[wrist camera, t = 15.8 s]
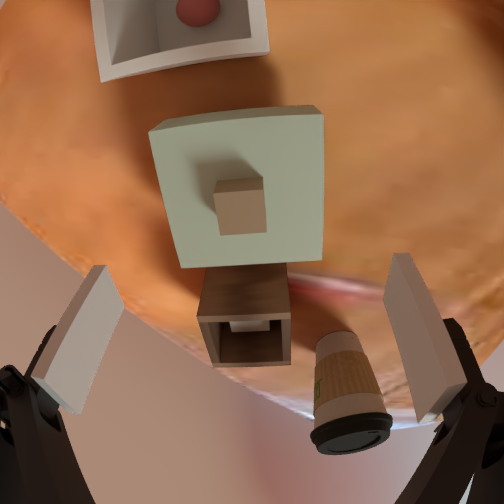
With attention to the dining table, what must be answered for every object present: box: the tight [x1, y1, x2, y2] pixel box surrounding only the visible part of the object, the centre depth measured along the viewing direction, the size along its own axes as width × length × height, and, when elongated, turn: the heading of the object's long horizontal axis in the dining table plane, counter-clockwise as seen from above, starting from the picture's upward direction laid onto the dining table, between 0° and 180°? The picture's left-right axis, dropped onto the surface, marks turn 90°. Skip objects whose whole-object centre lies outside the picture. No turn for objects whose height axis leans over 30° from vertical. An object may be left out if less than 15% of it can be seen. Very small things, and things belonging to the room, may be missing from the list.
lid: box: [148, 105, 324, 268], centre depth 21 cm, size 11×11×6 cm
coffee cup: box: [310, 331, 393, 455], centre depth 34 cm, size 10×10×15 cm
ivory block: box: [230, 320, 270, 332], centre depth 32 cm, size 4×4×4 cm
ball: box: [176, 0, 220, 27], centre depth 16 cm, size 3×3×3 cm
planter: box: [90, 0, 270, 83], centre depth 14 cm, size 9×9×10 cm
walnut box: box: [197, 262, 291, 367], centre depth 31 cm, size 8×8×8 cm
